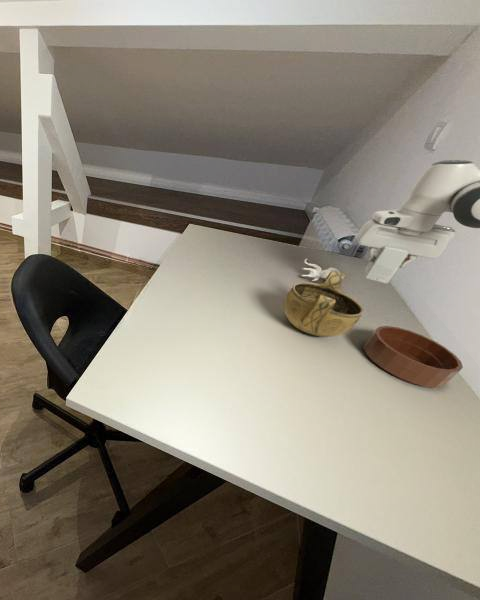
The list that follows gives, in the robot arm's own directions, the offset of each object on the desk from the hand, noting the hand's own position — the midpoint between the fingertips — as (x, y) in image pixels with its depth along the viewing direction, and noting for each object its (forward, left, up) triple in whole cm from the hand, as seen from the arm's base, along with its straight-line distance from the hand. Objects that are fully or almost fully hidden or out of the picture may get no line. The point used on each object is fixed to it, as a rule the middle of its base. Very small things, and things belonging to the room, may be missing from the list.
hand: (383, 263), depth 96 cm
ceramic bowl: (+18, +25, -16) cm, 35 cm away
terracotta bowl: (-3, +30, -16) cm, 34 cm away
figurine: (+9, -14, -16) cm, 23 cm away
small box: (0, 0, -5) cm, 5 cm away
